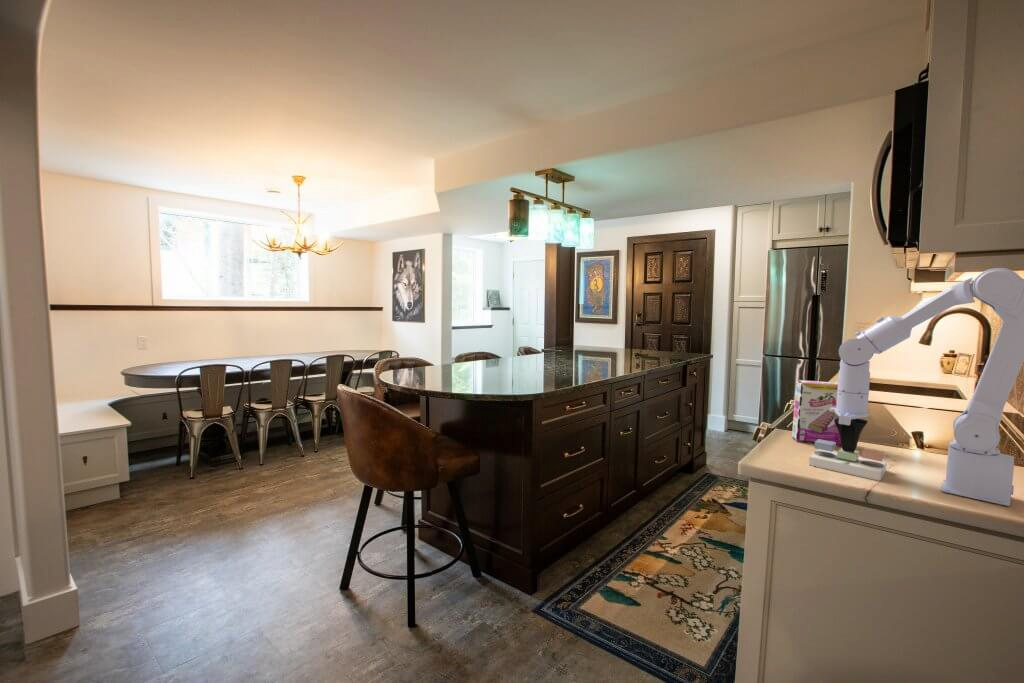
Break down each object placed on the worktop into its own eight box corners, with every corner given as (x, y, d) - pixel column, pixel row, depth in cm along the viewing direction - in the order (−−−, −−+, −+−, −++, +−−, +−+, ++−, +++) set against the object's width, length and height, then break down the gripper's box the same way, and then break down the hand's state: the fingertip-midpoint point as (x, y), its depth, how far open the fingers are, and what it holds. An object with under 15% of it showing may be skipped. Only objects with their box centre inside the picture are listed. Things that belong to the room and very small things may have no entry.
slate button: (835, 448, 110) (835, 442, 110) (832, 451, 107) (832, 445, 107) (818, 445, 112) (818, 439, 112) (814, 448, 110) (814, 441, 110)
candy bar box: (796, 442, 127) (800, 382, 125) (791, 437, 131) (795, 379, 130) (844, 446, 124) (849, 385, 122) (837, 441, 128) (841, 382, 127)
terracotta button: (884, 457, 104) (884, 451, 103) (881, 461, 101) (882, 454, 101) (864, 454, 106) (865, 447, 106) (861, 457, 104) (862, 450, 103)
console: (886, 470, 106) (886, 461, 105) (879, 480, 99) (880, 470, 99) (818, 456, 115) (819, 447, 115) (809, 465, 108) (809, 455, 108)
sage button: (858, 458, 107) (859, 451, 107) (855, 461, 104) (856, 454, 104) (840, 454, 109) (840, 448, 109) (836, 457, 107) (837, 451, 107)
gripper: (838, 385, 113) (834, 440, 115) (824, 392, 103) (820, 453, 104) (875, 389, 108) (870, 447, 110) (863, 397, 98) (858, 461, 99)
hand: (848, 450), depth 107 cm, fingers closed
